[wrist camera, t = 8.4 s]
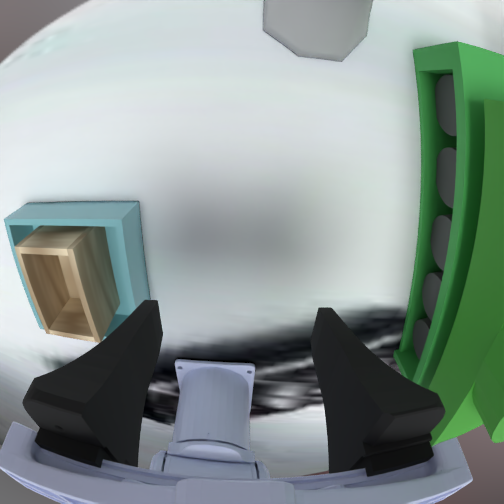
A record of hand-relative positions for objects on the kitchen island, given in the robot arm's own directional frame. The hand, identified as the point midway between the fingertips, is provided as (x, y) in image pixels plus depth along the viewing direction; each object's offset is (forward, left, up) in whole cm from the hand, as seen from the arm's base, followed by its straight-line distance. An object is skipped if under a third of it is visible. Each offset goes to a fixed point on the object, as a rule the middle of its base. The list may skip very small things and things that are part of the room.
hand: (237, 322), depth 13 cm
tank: (+6, -25, -10) cm, 28 cm away
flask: (+16, -4, -10) cm, 19 cm away
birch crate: (-3, +13, -9) cm, 16 cm away
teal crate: (-4, +13, -10) cm, 17 cm away
